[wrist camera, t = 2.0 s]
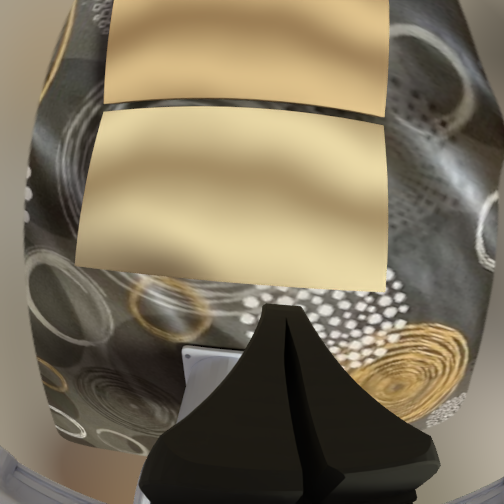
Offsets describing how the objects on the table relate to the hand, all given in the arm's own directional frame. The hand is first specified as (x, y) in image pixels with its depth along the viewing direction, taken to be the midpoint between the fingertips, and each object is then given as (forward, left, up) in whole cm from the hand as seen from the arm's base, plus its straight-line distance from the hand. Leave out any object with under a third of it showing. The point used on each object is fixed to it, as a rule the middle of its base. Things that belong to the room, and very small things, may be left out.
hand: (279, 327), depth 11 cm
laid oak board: (+12, +3, -9) cm, 15 cm away
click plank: (+3, +3, -7) cm, 8 cm away
